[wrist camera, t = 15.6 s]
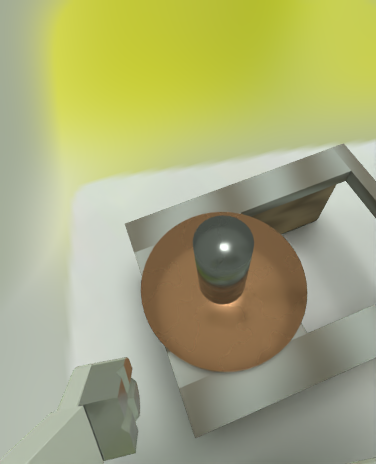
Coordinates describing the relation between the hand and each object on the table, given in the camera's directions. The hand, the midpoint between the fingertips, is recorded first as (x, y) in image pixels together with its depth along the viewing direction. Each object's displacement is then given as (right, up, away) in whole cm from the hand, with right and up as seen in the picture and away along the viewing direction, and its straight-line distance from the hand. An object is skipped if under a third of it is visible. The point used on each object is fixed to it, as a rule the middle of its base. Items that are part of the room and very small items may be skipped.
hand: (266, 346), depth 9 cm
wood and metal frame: (+5, -3, +20) cm, 21 cm away
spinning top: (0, -2, +15) cm, 15 cm away
